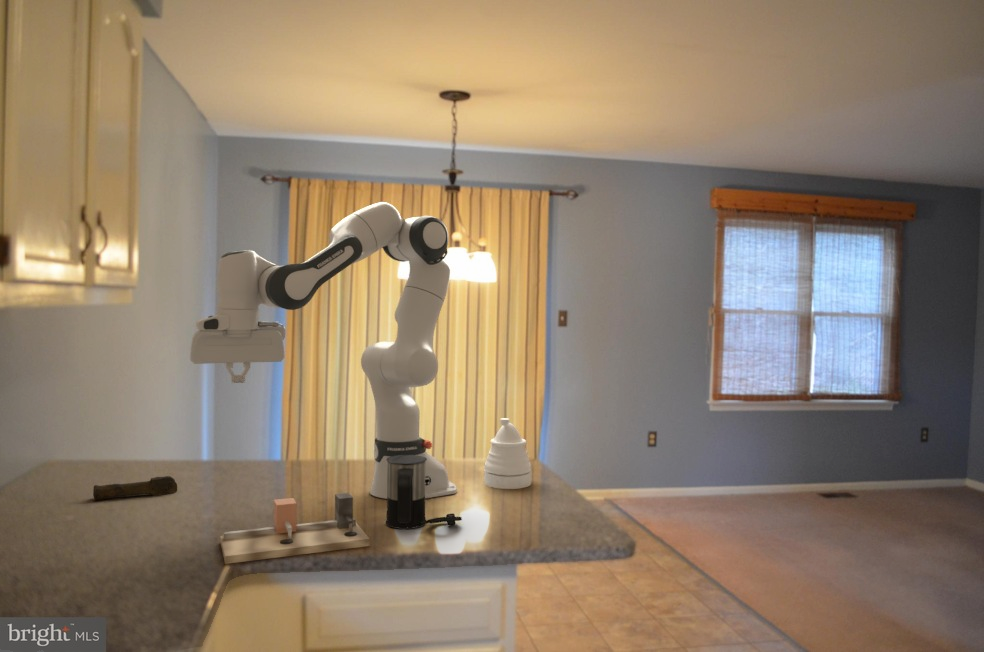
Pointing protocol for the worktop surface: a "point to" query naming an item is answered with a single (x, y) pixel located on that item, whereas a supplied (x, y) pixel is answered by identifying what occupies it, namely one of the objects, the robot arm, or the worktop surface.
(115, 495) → the hand tool
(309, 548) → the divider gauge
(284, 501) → the block
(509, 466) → the honey pot
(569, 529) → the worktop surface
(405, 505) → the milk frother
